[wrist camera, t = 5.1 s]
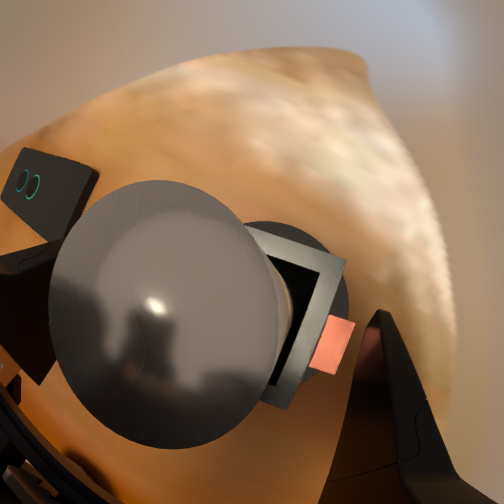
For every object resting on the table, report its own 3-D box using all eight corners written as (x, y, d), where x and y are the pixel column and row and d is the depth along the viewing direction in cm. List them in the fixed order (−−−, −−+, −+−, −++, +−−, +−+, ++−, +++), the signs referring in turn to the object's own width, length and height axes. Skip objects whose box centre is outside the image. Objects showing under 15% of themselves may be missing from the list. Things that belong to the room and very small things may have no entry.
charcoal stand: (307, 404, 15) (310, 463, 8) (169, 345, 17) (101, 363, 10) (364, 257, 16) (405, 227, 9) (220, 209, 18) (176, 158, 11)
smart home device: (22, 145, 25) (94, 165, 20) (30, 150, 26) (105, 173, 22) (-2, 199, 24) (56, 251, 19) (6, 202, 26) (69, 254, 21)
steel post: (280, 353, 14) (217, 492, 3) (214, 327, 15) (34, 361, 4) (306, 285, 15) (331, 224, 3) (239, 261, 16) (95, 159, 4)
